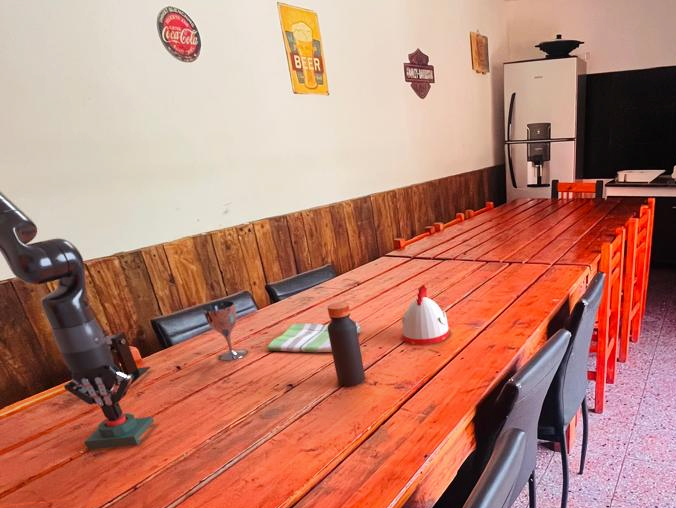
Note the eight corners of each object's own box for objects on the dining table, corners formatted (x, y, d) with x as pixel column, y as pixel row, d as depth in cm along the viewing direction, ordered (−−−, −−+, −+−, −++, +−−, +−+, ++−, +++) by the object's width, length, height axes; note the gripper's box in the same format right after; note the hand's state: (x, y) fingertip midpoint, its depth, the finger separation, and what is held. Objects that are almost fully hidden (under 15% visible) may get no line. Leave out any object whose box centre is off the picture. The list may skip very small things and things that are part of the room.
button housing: (87, 450, 106) (80, 434, 105) (108, 429, 113) (102, 414, 112) (137, 445, 107) (131, 429, 105) (155, 425, 114) (149, 409, 112)
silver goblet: (252, 353, 148) (238, 304, 141) (224, 363, 143) (209, 312, 136) (240, 347, 153) (226, 299, 146) (213, 356, 148) (198, 307, 141)
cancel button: (104, 431, 107) (101, 424, 106) (113, 421, 110) (110, 415, 110) (122, 429, 107) (119, 422, 107) (130, 420, 111) (128, 413, 110)
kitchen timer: (453, 327, 158) (449, 280, 152) (442, 345, 146) (438, 294, 140) (410, 326, 161) (404, 280, 154) (396, 344, 149) (389, 294, 142)
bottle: (351, 372, 133) (337, 299, 124) (371, 377, 130) (358, 302, 121) (332, 383, 128) (316, 308, 119) (352, 389, 125) (338, 312, 116)
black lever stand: (133, 387, 132) (114, 342, 126) (100, 390, 131) (80, 345, 126) (151, 370, 141) (135, 327, 135) (121, 373, 140) (103, 330, 135)
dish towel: (340, 354, 144) (338, 342, 143) (266, 352, 148) (263, 341, 147) (363, 331, 159) (361, 320, 158) (295, 330, 163) (292, 319, 162)
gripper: (127, 333, 104) (156, 406, 112) (59, 339, 103) (93, 412, 111) (107, 348, 98) (139, 424, 105) (34, 354, 97) (72, 431, 104)
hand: (115, 418), depth 108 cm, fingers closed
